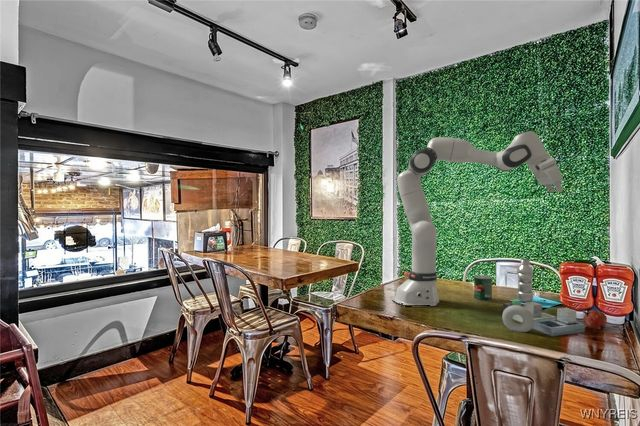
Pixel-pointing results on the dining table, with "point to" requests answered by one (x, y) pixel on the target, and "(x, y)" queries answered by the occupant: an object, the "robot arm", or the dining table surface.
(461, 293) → the dining table surface
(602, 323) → the pomegranate
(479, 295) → the canned tomato
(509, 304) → the console
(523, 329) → the donut
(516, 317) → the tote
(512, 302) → the button
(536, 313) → the billet
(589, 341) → the dining table surface
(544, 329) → the pallet
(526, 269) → the plastic bottle
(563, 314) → the block
